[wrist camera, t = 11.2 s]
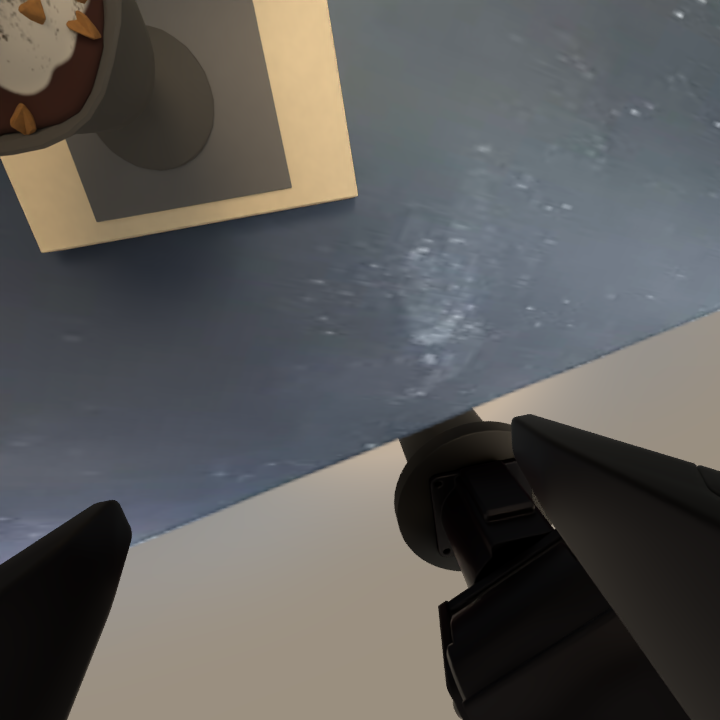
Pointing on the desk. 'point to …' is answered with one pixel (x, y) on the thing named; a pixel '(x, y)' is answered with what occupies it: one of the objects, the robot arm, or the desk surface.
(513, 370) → the desk surface
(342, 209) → the desk surface
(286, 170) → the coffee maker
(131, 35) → the sundae
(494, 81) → the desk surface
